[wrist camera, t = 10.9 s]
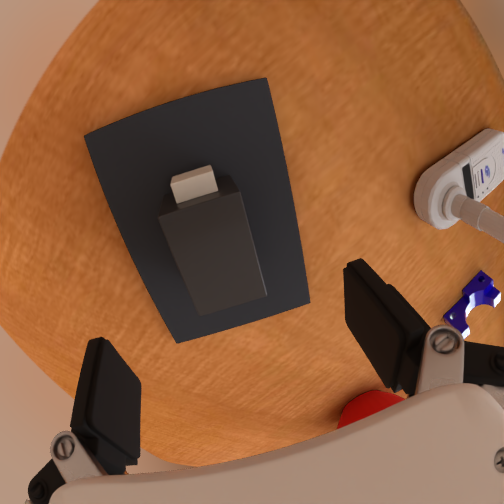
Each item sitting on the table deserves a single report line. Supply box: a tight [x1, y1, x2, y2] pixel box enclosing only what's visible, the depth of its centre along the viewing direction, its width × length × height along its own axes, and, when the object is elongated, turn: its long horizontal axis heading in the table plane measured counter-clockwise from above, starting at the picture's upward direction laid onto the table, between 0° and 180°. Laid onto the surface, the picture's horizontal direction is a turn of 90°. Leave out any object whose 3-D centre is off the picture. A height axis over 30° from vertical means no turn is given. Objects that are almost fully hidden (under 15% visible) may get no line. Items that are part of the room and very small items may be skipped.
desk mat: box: [84, 78, 310, 343], centre depth 20 cm, size 18×12×1 cm, turn 13°
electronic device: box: [414, 129, 504, 243], centre depth 19 cm, size 5×10×15 cm
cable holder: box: [443, 271, 501, 339], centre depth 30 cm, size 8×4×4 cm, turn 129°
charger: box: [158, 165, 267, 316], centre depth 18 cm, size 8×4×4 cm, turn 13°
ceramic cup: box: [337, 390, 405, 429], centre depth 34 cm, size 13×17×10 cm
